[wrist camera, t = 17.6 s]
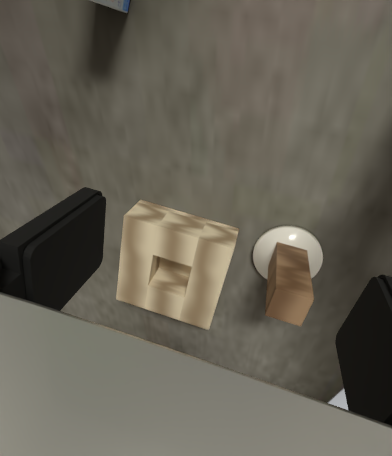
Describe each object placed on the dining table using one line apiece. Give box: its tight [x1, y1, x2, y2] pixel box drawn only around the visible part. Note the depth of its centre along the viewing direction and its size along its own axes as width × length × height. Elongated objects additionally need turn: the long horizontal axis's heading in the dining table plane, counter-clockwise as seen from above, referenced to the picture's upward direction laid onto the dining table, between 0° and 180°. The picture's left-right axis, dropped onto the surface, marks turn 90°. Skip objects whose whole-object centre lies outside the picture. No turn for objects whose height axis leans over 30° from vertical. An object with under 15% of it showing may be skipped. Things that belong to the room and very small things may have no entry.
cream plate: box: [253, 225, 323, 279], centre depth 47 cm, size 10×10×1 cm
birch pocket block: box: [116, 200, 239, 330], centre depth 50 cm, size 16×16×6 cm
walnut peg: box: [265, 242, 314, 326], centre depth 42 cm, size 4×4×11 cm
